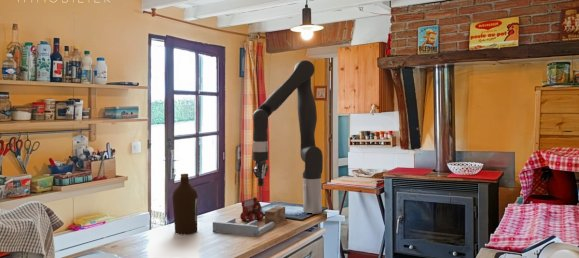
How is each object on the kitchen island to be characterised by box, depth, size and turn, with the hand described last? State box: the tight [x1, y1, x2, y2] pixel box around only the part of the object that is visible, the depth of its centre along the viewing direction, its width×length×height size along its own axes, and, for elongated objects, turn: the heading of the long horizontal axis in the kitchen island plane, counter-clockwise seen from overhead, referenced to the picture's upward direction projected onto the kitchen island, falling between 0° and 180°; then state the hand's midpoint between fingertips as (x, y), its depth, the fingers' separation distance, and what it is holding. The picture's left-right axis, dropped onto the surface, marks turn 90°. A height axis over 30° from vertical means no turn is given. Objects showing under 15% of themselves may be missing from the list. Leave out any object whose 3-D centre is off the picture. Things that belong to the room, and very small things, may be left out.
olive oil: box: [171, 173, 199, 235], centre depth 198 cm, size 11×11×25 cm
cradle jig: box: [212, 217, 276, 237], centre depth 202 cm, size 16×22×4 cm
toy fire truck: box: [239, 196, 265, 223], centre depth 217 cm, size 7×12×10 cm, turn 141°
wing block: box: [264, 205, 286, 225], centre depth 213 cm, size 12×4×6 cm, turn 155°
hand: (261, 185), depth 225 cm, fingers closed
